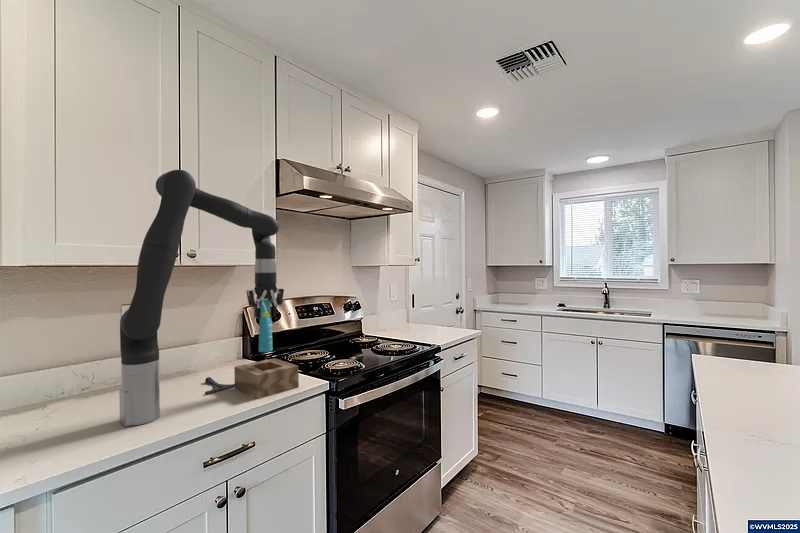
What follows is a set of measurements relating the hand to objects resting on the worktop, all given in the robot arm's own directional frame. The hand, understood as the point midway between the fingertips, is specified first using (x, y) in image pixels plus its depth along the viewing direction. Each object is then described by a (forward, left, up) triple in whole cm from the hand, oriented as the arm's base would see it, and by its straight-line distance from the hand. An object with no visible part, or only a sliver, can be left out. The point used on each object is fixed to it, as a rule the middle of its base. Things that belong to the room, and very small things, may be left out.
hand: (265, 317), depth 139 cm
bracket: (-11, +17, -27) cm, 33 cm away
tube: (0, 0, -13) cm, 13 cm away
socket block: (0, 0, -26) cm, 26 cm away
